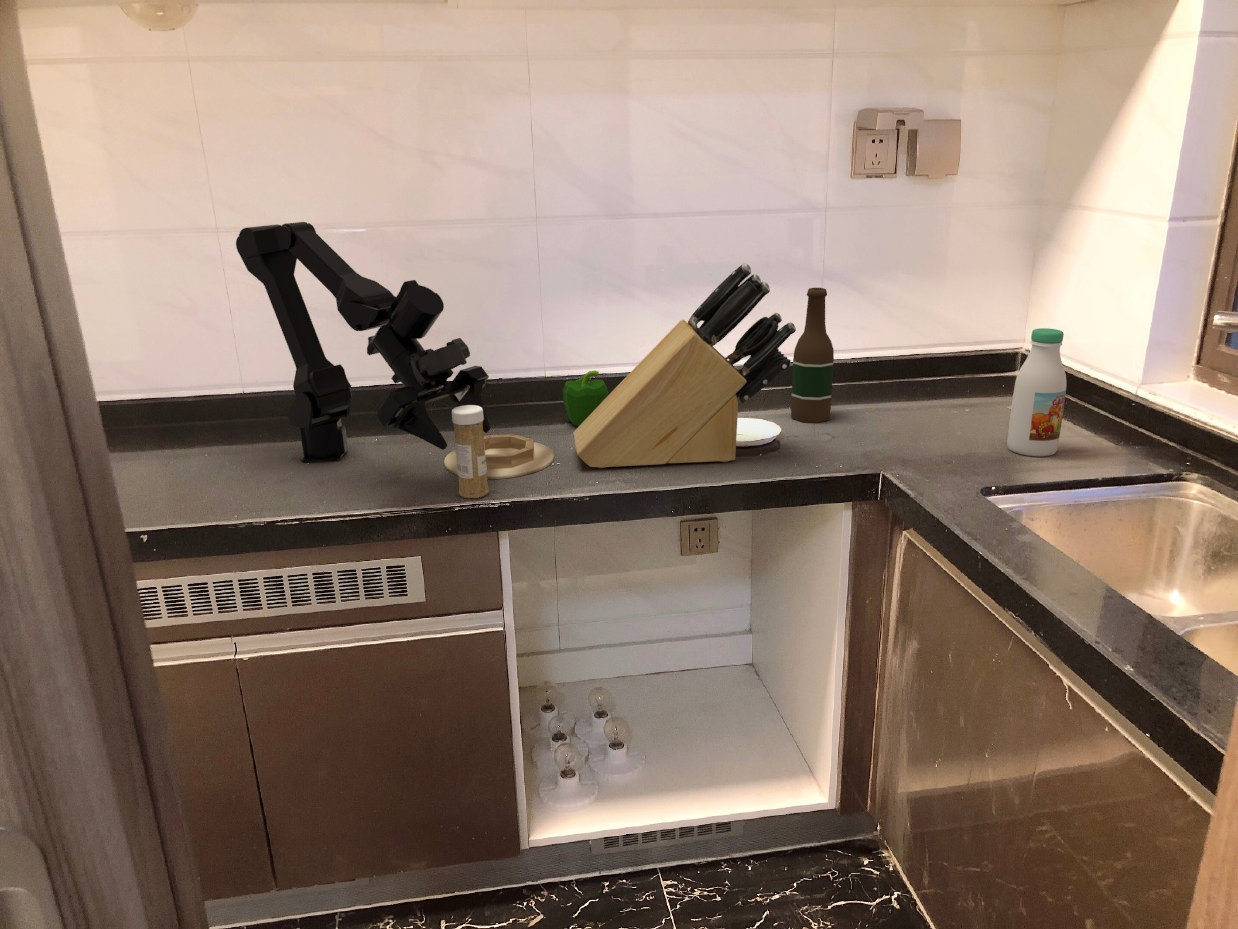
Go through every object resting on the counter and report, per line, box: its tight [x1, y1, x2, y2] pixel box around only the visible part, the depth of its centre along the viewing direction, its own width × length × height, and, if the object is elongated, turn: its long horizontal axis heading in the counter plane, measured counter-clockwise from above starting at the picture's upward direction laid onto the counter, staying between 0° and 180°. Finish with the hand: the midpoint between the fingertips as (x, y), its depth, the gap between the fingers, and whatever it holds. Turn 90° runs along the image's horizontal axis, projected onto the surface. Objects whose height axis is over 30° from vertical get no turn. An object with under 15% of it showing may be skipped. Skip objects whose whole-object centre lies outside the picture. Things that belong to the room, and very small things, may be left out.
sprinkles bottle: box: [451, 405, 490, 499], centre depth 136 cm, size 5×5×13 cm
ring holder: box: [444, 434, 555, 480], centre depth 152 cm, size 18×18×3 cm
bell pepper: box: [561, 370, 609, 427], centre depth 169 cm, size 8×8×10 cm
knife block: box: [572, 262, 797, 469], centre depth 148 cm, size 11×35×31 cm, turn 96°
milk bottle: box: [1006, 327, 1067, 457], centre depth 148 cm, size 8×8×20 cm
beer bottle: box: [790, 287, 835, 424], centre depth 168 cm, size 8×8×24 cm
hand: (467, 439), depth 135 cm, fingers open, 9 cm apart
